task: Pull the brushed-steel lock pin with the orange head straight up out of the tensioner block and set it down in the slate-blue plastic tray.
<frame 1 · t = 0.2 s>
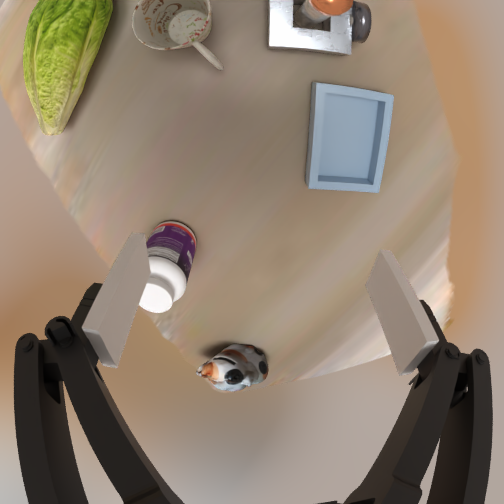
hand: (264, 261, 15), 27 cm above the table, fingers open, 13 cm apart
pill bottle: (174, 238, 48), on the table
lucky cat figurine: (234, 353, 68), on the table
lettuce: (77, 56, 28), on the table
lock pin: (306, 18, 27), resting in tensioner block
tensioner block: (306, 18, 27), on the table
tray: (345, 135, 37), on the table
mug: (199, 37, 29), on the table
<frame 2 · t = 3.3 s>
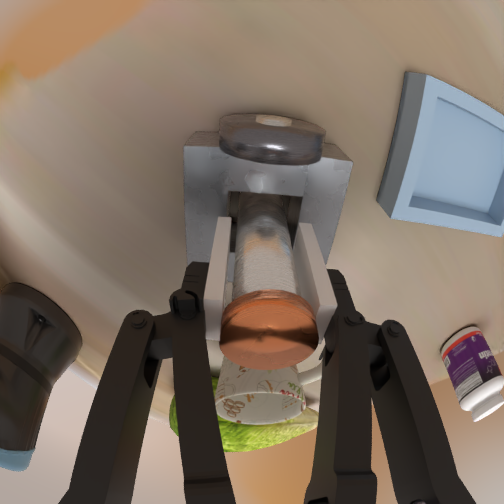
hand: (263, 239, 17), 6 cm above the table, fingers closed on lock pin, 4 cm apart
pill bottle: (458, 338, 35), on the table
lettuce: (250, 393, 41), on the table
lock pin: (260, 198, 22), resting in tensioner block, touching gripper
tensioner block: (260, 198, 22), on the table
tray: (459, 158, 19), on the table
mug: (274, 319, 30), on the table
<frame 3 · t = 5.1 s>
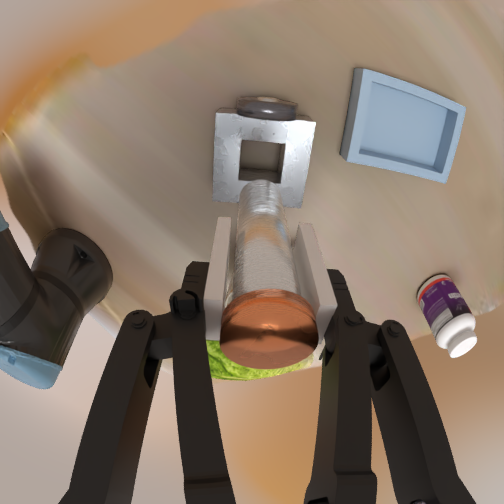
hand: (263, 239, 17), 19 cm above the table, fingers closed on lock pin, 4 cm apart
pill bottle: (432, 287, 46), on the table
lettuce: (253, 331, 52), on the table
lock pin: (260, 198, 22), point 13 cm above the table, touching gripper
tensioner block: (260, 151, 32), on the table
tray: (401, 124, 29), on the table
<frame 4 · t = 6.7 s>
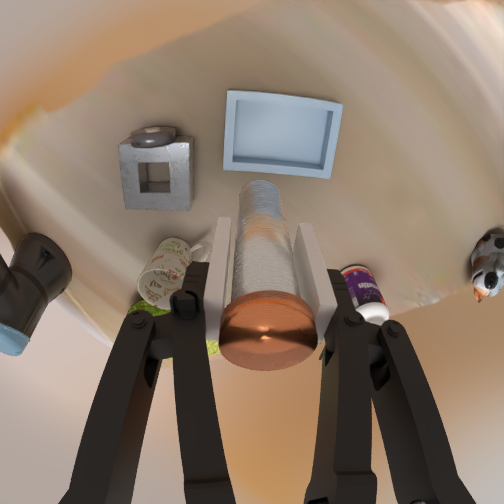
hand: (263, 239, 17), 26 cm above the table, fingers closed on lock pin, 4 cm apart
pill bottle: (351, 278, 54), on the table
lucky cat figurine: (481, 254, 52), on the table
lettuce: (185, 317, 59), on the table
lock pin: (259, 199, 22), point 20 cm above the table, touching gripper
tensioner block: (161, 168, 40), on the table
tray: (279, 130, 37), on the table
mug: (184, 245, 48), on the table
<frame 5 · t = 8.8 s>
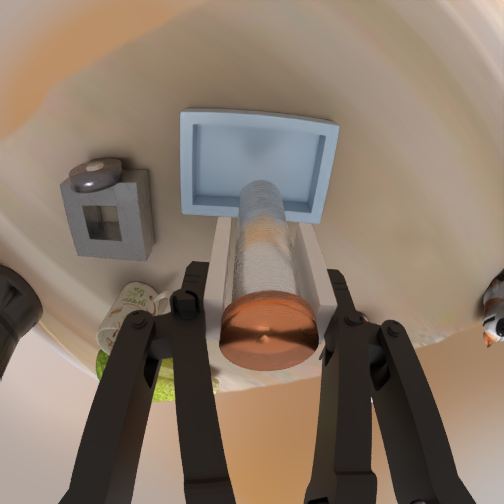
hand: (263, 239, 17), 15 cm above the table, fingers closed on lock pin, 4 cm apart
lucky cat figurine: (495, 292, 44), on the table
lettuce: (161, 357, 52), on the table
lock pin: (260, 199, 22), point 10 cm above the table, touching gripper
tensioner block: (114, 207, 32), on the table
tray: (255, 160, 29), on the table
mug: (150, 290, 41), on the table
when the fingers open (8 cm above the table, at t = 10.4 s): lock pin drops 2 cm, resting on tray.
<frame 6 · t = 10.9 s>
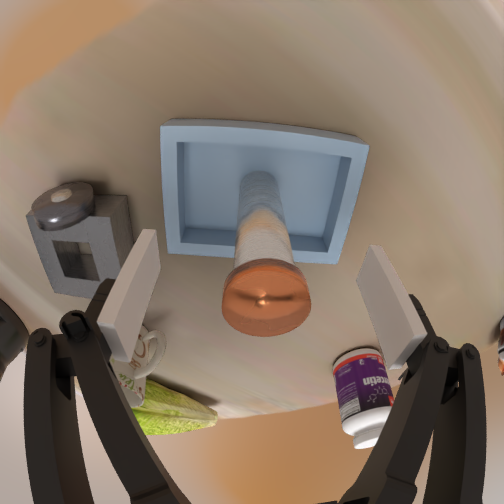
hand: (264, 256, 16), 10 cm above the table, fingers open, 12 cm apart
pill bottle: (355, 358, 40), on the table
lettuce: (156, 387, 46), on the table
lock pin: (258, 188, 23), point 1 cm above the table, touching tray
tensioner block: (92, 238, 27), on the table
tray: (259, 185, 24), on the table
mug: (139, 325, 35), on the table
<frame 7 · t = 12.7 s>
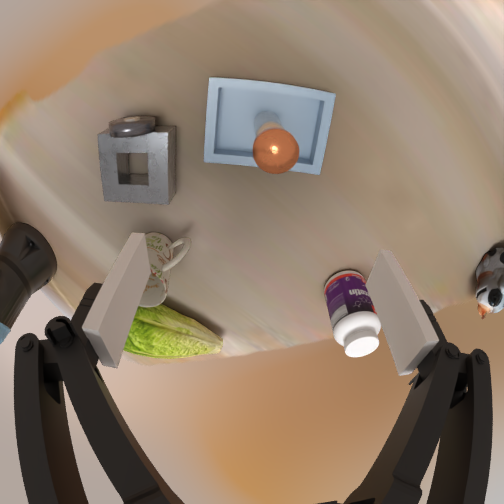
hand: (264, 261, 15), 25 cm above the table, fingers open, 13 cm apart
pill bottle: (343, 283, 51), on the table
lucky cat figurine: (487, 268, 49), on the table
lettuce: (169, 315, 57), on the table
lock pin: (266, 122, 34), point 1 cm above the table, touching tray
tensioner block: (142, 159, 37), on the table
tray: (267, 121, 34), on the table
mug: (166, 240, 46), on the table
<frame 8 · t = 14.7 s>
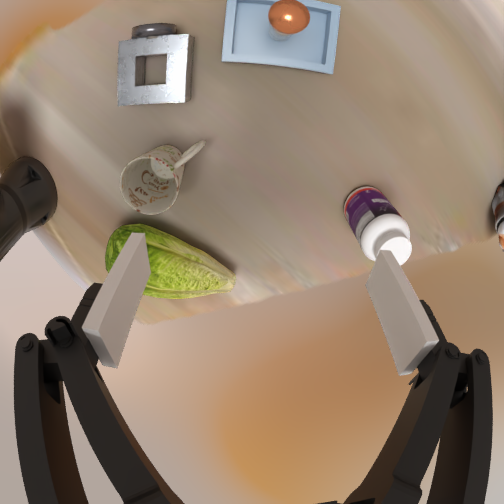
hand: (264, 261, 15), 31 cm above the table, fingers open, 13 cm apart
pill bottle: (362, 204, 47), on the table
lucky cat figurine: (502, 204, 46), on the table
lettuce: (176, 251, 53), on the table
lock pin: (280, 31, 30), point 1 cm above the table, touching tray
tensioner block: (159, 69, 33), on the table
tray: (280, 32, 31), on the table
mug: (177, 154, 42), on the table
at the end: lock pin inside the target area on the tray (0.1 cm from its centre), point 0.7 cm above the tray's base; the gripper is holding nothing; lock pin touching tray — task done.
